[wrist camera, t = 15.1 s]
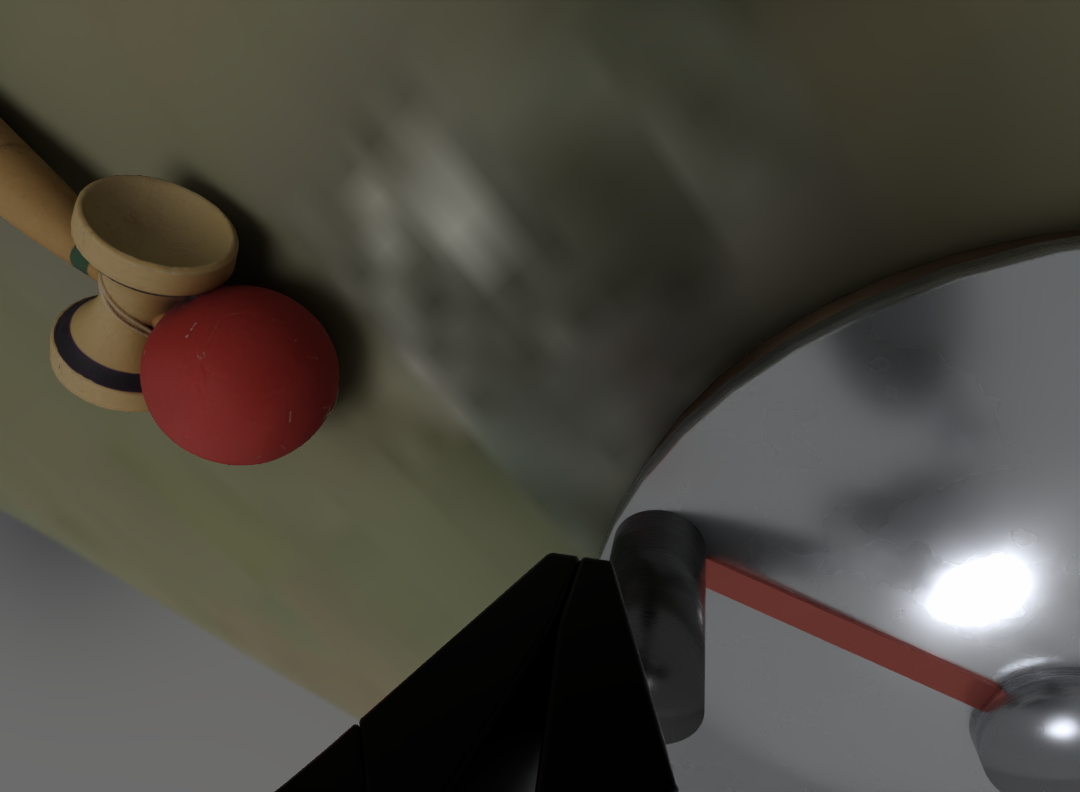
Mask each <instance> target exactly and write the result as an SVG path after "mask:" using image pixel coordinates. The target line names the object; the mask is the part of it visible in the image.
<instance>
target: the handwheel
mask: <svg viewBox="0 0 1080 792" xmlns="http://www.w3.org/2000/svg"><path fill="white" fill-rule="evenodd" d="M598 559H601V560H608V561H610V562H611V563H612V564H613V566H614V569H615V573H616V576H617V580H618V583H619V587H620V590H621V593H622V597H623V600H624V604H625V607H626V610H627V614H628V617H629V621H630V624H631V627H632V631H633V634H634V638H635V641H636V645H637V648H638V651H639V655H640V658H641V662H642V665H643V668H644V672H645V675H646V679H647V682H648V685H649V689H650V692H651V696H652V699H653V703H654V706H655V709H656V713H657V716H658V720H659V723H660V726H661V730H662V733H663V737H664V740H665V743H666V747H667V750H668V754H669V757H670V761H671V764H672V767H673V771H674V774H675V778H676V781H677V784H678V788H679V792H1080V236H1075V237H1069V238H1062V239H1056V240H1050V241H1044V242H1038V243H1034V244H1030V245H1026V246H1023V247H1019V248H1015V249H1012V250H1008V251H1004V252H1001V253H997V254H993V255H990V256H986V257H983V258H979V259H975V260H972V261H968V262H964V263H961V264H957V265H953V266H950V267H946V268H943V269H940V270H937V271H935V272H932V273H930V274H927V275H925V276H922V277H920V278H917V279H914V280H912V281H909V282H907V283H904V284H902V285H899V286H896V287H894V288H891V289H889V290H886V291H884V292H881V293H878V294H876V295H873V296H871V297H868V298H866V299H863V300H861V301H859V302H857V303H855V304H853V305H851V306H849V307H847V308H845V309H843V310H841V311H840V312H838V313H836V314H834V315H832V316H830V317H828V318H826V319H824V320H822V321H820V322H818V323H817V324H815V325H813V326H811V327H809V328H807V329H805V330H803V331H801V332H799V333H797V334H795V335H794V336H792V337H790V338H788V339H787V340H785V341H784V342H783V343H781V344H780V345H778V346H777V347H775V348H774V349H772V350H771V351H769V352H768V353H766V354H765V355H763V356H762V357H760V358H759V359H758V360H756V361H755V362H753V363H752V364H750V365H749V366H747V367H746V368H744V369H743V370H741V371H740V372H738V373H737V374H735V375H734V376H732V377H731V378H730V379H729V380H728V381H727V382H725V383H724V384H723V385H722V386H721V387H720V388H719V389H717V390H716V391H715V392H714V393H713V394H712V395H711V396H709V397H708V398H707V399H706V400H705V401H704V402H703V403H702V404H700V405H699V406H698V407H697V408H696V409H695V410H694V411H692V412H691V413H690V414H689V415H688V416H687V417H686V418H685V419H683V420H682V422H681V423H680V424H679V425H678V426H677V427H676V429H675V430H674V431H673V432H672V433H671V434H670V436H669V437H668V438H667V439H666V440H665V441H664V442H663V444H662V445H661V446H660V447H659V448H658V449H657V451H656V452H655V453H654V454H653V455H652V456H651V458H650V459H649V460H648V461H647V462H646V464H645V465H644V467H643V468H642V470H641V471H640V473H639V475H638V476H637V478H636V479H635V481H634V483H633V484H632V486H631V487H630V489H629V490H628V492H627V494H626V495H625V497H624V498H623V500H622V501H621V503H620V505H619V507H618V509H617V511H616V514H615V516H614V518H613V521H612V523H611V525H610V528H609V530H608V532H607V535H606V537H605V539H604V542H603V544H602V546H601V549H600V553H599V557H598Z"/></svg>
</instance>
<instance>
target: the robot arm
mask: <svg viewBox="0 0 1080 792" xmlns="http://www.w3.org/2000/svg"><path fill="white" fill-rule="evenodd" d="M359 724H360V727H359V726H358V725H356V724H355V725H353V726H352V727H351V728H350V729H348V731H346V732H345V733H344V734H343V735H342V736H340V737H339V738H338V739H337V740H336V741H335V742H334V743H333V744H332V745H330V746H329V747H328V748H327V749H326V750H324V751H323V752H322V753H321V754H320V755H318V756H317V757H316V758H315V759H314V760H313V761H311V762H310V763H309V764H308V765H307V766H305V767H304V768H303V769H302V770H301V771H299V772H298V773H297V774H296V775H295V776H293V777H292V778H291V779H290V780H289V781H288V782H286V783H285V784H284V785H283V786H281V787H280V788H279V789H277V790H276V791H275V792H679V788H678V784H677V781H676V778H675V774H674V771H673V767H672V764H671V761H670V757H669V754H668V750H667V747H666V743H665V740H664V737H663V733H662V730H661V726H660V723H659V720H658V716H657V713H656V709H655V706H654V703H653V699H652V696H651V692H650V689H649V685H648V682H647V679H646V675H645V672H644V668H643V665H642V662H641V658H640V655H639V651H638V648H637V645H636V641H635V638H634V634H633V631H632V627H631V624H630V621H629V617H628V614H627V610H626V607H625V604H624V600H623V597H622V593H621V590H620V587H619V583H618V580H617V576H616V573H615V569H614V566H613V564H612V563H611V562H610V561H608V560H601V559H594V558H587V557H586V558H583V559H581V560H579V558H578V557H577V556H572V555H565V554H558V553H550V554H548V555H546V556H545V557H544V558H543V559H542V560H540V561H539V562H538V563H537V564H536V565H535V566H534V567H532V568H531V569H530V570H529V571H528V572H527V573H526V574H525V575H523V576H522V577H521V578H520V579H519V580H518V581H517V582H515V583H514V584H513V585H512V586H511V587H510V588H509V589H508V590H506V591H505V592H504V593H503V594H502V595H501V596H500V597H498V598H497V599H496V600H495V601H494V602H493V603H492V604H491V605H489V606H488V607H487V608H486V609H485V610H484V611H483V612H481V613H480V614H479V615H478V616H477V617H476V618H475V619H474V620H472V621H471V622H470V623H469V624H468V625H467V626H466V627H464V628H463V629H462V630H461V631H460V632H459V633H458V634H457V635H455V636H454V637H453V638H452V639H451V640H450V641H449V642H447V643H446V644H445V645H444V646H443V647H442V648H441V649H439V650H438V651H437V652H436V653H435V654H434V655H433V656H432V657H430V658H429V659H428V660H427V661H426V662H425V663H424V664H422V665H421V666H420V667H419V668H418V669H417V670H416V671H415V672H413V673H412V674H411V675H410V676H409V677H408V678H407V679H405V680H404V681H403V682H402V683H401V684H400V685H399V686H398V687H396V688H395V689H394V690H393V691H392V692H391V693H390V694H388V695H387V696H386V697H385V698H384V699H383V700H382V701H381V702H379V703H378V704H377V705H376V706H375V707H374V708H373V709H371V710H370V711H369V712H368V713H367V714H366V715H365V716H364V717H362V718H361V719H360V722H359Z"/></svg>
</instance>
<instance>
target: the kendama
mask: <svg viewBox="0 0 1080 792" xmlns="http://www.w3.org/2000/svg"><path fill="white" fill-rule="evenodd" d="M0 216H1V217H2V218H4V219H5V220H6V221H8V222H9V223H10V224H12V225H13V226H15V227H16V228H17V229H19V230H20V231H21V232H23V233H24V234H26V235H27V236H29V237H30V238H32V239H33V240H34V241H36V242H37V243H39V244H40V245H42V246H43V247H45V248H46V249H48V250H50V251H51V252H53V253H54V254H55V255H57V256H58V257H60V258H62V259H63V260H65V261H66V262H68V263H69V264H71V265H72V266H74V267H75V268H77V269H79V270H80V271H82V272H83V273H85V274H87V275H88V276H90V277H91V278H92V279H94V280H95V281H97V282H98V286H99V292H100V294H99V295H96V296H91V297H87V298H84V299H82V300H80V301H77V302H75V303H74V304H72V305H70V306H69V307H67V308H66V309H65V310H64V311H62V312H61V313H60V314H59V316H58V317H57V318H56V321H55V323H54V325H53V327H52V330H51V337H50V361H51V366H52V368H53V370H54V373H55V375H56V376H57V378H58V379H59V381H60V382H61V383H62V384H63V385H64V386H65V387H66V388H67V389H68V390H69V391H70V392H72V393H74V394H75V395H77V396H78V397H80V398H81V399H83V400H85V401H87V402H89V403H93V404H95V405H97V406H100V407H103V408H107V409H111V410H119V411H125V412H147V411H150V413H151V415H152V417H153V419H154V420H155V422H156V423H157V425H158V426H159V427H160V429H161V430H162V431H163V432H164V433H165V434H166V435H167V436H168V437H169V438H170V439H171V440H172V441H173V442H174V443H176V444H177V445H179V446H180V447H181V448H183V449H185V450H186V451H188V452H190V453H192V454H194V455H197V456H199V457H201V458H203V459H206V460H210V461H213V462H217V463H222V464H227V465H254V464H262V463H266V462H270V461H273V460H276V459H278V458H280V457H282V456H285V455H287V454H288V453H290V452H292V451H294V450H295V449H297V448H298V447H300V446H301V445H303V444H304V443H305V442H306V441H308V440H309V439H310V438H311V437H312V436H313V435H314V434H315V433H316V431H317V430H318V429H319V428H320V427H321V425H322V424H323V422H324V421H325V419H326V417H327V416H328V415H330V414H331V413H332V412H333V411H334V409H335V406H336V403H337V398H338V384H339V364H338V358H337V354H336V351H335V348H334V345H333V343H332V341H331V339H330V337H329V335H328V334H327V332H326V330H325V329H324V327H323V326H322V325H321V323H320V322H319V321H318V320H317V319H316V318H315V317H314V316H313V315H312V314H311V313H310V312H309V311H308V310H307V309H306V308H304V307H303V306H302V305H300V304H299V303H298V302H296V301H294V300H293V299H291V298H289V297H287V296H285V295H283V294H281V293H278V292H276V291H273V290H270V289H266V288H262V287H256V286H248V285H230V286H226V285H225V284H224V283H225V282H226V281H227V280H228V279H229V277H230V276H231V274H232V272H233V270H234V267H235V263H236V258H237V253H238V248H239V240H238V236H237V233H236V230H235V228H234V226H233V224H232V223H231V221H230V220H229V218H228V217H227V216H226V215H225V214H224V213H223V212H222V211H221V210H220V209H219V208H218V207H217V206H215V205H214V204H213V203H211V202H210V201H208V200H207V199H205V198H204V197H202V196H201V195H199V194H197V193H195V192H193V191H191V190H189V189H187V188H184V187H182V186H180V185H177V184H174V183H171V182H168V181H165V180H162V179H159V178H151V177H147V176H141V175H137V176H135V175H115V176H110V177H105V178H102V179H98V180H96V181H94V182H92V183H90V184H88V185H87V186H86V187H85V188H84V189H83V190H82V191H81V192H80V193H79V196H77V194H76V193H75V192H74V191H73V190H72V189H71V188H70V187H69V186H68V185H67V184H66V182H65V181H64V180H63V179H62V178H61V177H60V176H59V175H58V174H57V173H56V172H55V171H54V170H53V169H52V168H51V167H50V166H49V165H48V164H47V163H46V162H45V161H44V160H43V159H42V158H41V157H39V156H38V155H37V154H36V153H35V152H34V151H33V150H32V149H31V148H30V147H29V146H28V145H27V144H26V143H25V142H24V141H23V140H22V139H21V138H20V137H19V136H18V135H17V134H16V133H15V132H14V131H13V130H12V129H11V128H10V127H9V126H8V125H7V124H6V123H5V122H4V121H3V120H2V119H1V118H0Z"/></svg>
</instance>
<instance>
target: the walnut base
mask: <svg viewBox="0 0 1080 792" xmlns="http://www.w3.org/2000/svg"><path fill="white" fill-rule="evenodd" d="M1075 236H1080V230H1079V231H1070V232H1061V233H1052V234H1043V235H1037V236H1033V237H1028V238H1024V239H1019V240H1014V241H1010V242H1005V243H1001V244H996V245H992V246H987V247H983V248H978V249H973V250H969V251H964V252H960V253H957V254H954V255H951V256H948V257H945V258H942V259H939V260H936V261H933V262H930V263H927V264H924V265H921V266H918V267H915V268H912V269H909V270H906V271H903V272H900V273H897V274H894V275H891V276H888V277H885V278H883V279H881V280H879V281H877V282H875V283H872V284H870V285H868V286H866V287H864V288H861V289H859V290H857V291H855V292H853V293H851V294H848V295H846V296H844V297H842V298H840V299H837V300H835V301H833V302H831V303H829V304H826V305H824V306H822V307H820V308H819V309H817V310H815V311H814V312H812V313H810V314H809V315H807V316H805V317H804V318H802V319H800V320H799V321H797V322H795V323H794V324H792V325H790V326H789V327H787V328H786V329H784V330H782V331H781V332H779V333H777V334H776V335H774V336H772V337H771V338H769V339H767V340H766V341H764V342H763V343H762V344H761V345H759V346H758V347H757V348H755V349H754V350H753V351H752V352H750V353H749V354H748V355H746V356H745V357H744V358H743V359H741V360H740V361H739V362H737V363H736V364H735V365H734V366H732V367H731V368H730V369H728V370H727V371H726V372H725V373H723V374H722V375H721V376H719V377H718V378H717V379H716V380H715V381H714V382H713V383H712V384H711V385H710V386H709V387H708V388H707V389H706V390H705V391H704V392H703V393H702V394H701V395H700V396H699V397H698V398H697V399H696V400H695V401H694V403H693V404H692V405H691V406H690V407H689V408H688V409H687V410H686V411H685V412H684V413H683V414H682V415H681V416H680V417H679V419H678V420H677V421H676V423H675V424H674V425H673V427H672V428H671V429H670V431H669V432H668V433H667V435H666V436H665V437H664V439H663V440H662V441H661V443H660V444H659V445H658V447H657V448H656V449H655V451H654V452H653V453H652V455H653V454H654V453H655V452H656V451H657V449H658V448H659V447H660V446H661V445H662V444H663V442H664V441H665V440H666V439H667V438H668V437H669V436H670V434H671V433H672V432H673V431H674V430H675V429H676V427H677V426H678V425H679V424H680V423H681V422H682V420H683V419H685V418H686V417H687V416H688V415H689V414H690V413H691V412H692V411H694V410H695V409H696V408H697V407H698V406H699V405H700V404H702V403H703V402H704V401H705V400H706V399H707V398H708V397H709V396H711V395H712V394H713V393H714V392H715V391H716V390H717V389H719V388H720V387H721V386H722V385H723V384H724V383H725V382H727V381H728V380H729V379H730V378H731V377H732V376H734V375H735V374H737V373H738V372H740V371H741V370H743V369H744V368H746V367H747V366H749V365H750V364H752V363H753V362H755V361H756V360H758V359H759V358H760V357H762V356H763V355H765V354H766V353H768V352H769V351H771V350H772V349H774V348H775V347H777V346H778V345H780V344H781V343H783V342H784V341H785V340H787V339H788V338H790V337H792V336H794V335H795V334H797V333H799V332H801V331H803V330H805V329H807V328H809V327H811V326H813V325H815V324H817V323H818V322H820V321H822V320H824V319H826V318H828V317H830V316H832V315H834V314H836V313H838V312H840V311H841V310H843V309H845V308H847V307H849V306H851V305H853V304H855V303H857V302H859V301H861V300H863V299H866V298H868V297H871V296H873V295H876V294H878V293H881V292H884V291H886V290H889V289H891V288H894V287H896V286H899V285H902V284H904V283H907V282H909V281H912V280H914V279H917V278H920V277H922V276H925V275H927V274H930V273H932V272H935V271H937V270H940V269H943V268H946V267H950V266H953V265H957V264H961V263H964V262H968V261H972V260H975V259H979V258H983V257H986V256H990V255H993V254H997V253H1001V252H1004V251H1008V250H1012V249H1015V248H1019V247H1023V246H1026V245H1030V244H1034V243H1038V242H1044V241H1050V240H1056V239H1062V238H1069V237H1075ZM652 455H651V456H652ZM650 458H651V457H650Z"/></svg>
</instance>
